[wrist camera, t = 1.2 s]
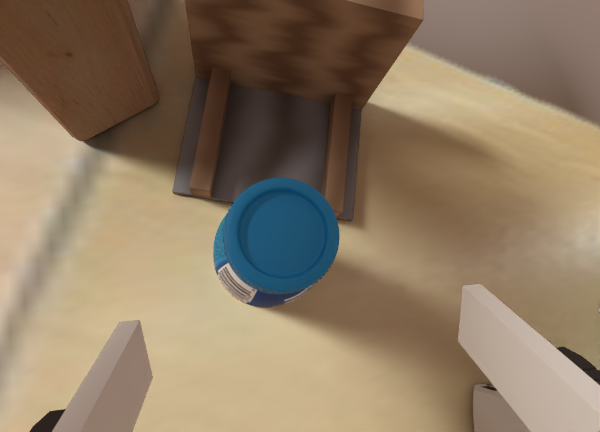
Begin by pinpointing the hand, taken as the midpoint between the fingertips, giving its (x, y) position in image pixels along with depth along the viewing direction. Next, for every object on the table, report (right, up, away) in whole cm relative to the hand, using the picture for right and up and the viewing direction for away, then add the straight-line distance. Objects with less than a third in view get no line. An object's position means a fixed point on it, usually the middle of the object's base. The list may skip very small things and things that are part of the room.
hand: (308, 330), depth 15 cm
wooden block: (-23, +19, +26) cm, 39 cm away
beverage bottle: (-5, -1, +25) cm, 25 cm away
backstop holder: (-3, +13, +28) cm, 31 cm away
